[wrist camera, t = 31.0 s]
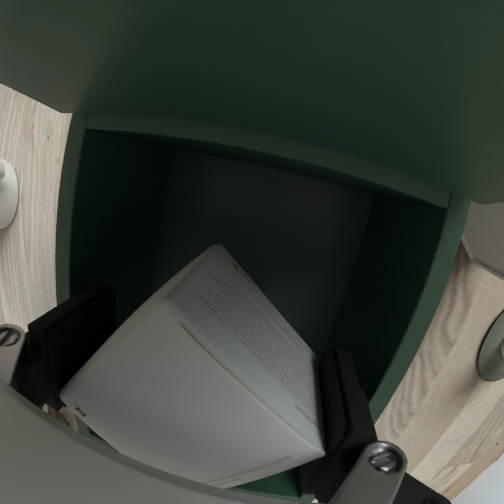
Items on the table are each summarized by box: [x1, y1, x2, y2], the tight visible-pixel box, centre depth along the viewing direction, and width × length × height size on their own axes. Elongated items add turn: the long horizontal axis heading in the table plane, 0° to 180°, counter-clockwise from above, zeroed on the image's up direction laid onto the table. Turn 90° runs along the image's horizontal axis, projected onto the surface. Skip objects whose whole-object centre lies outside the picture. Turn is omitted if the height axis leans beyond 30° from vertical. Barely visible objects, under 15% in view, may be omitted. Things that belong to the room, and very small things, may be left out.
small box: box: [59, 244, 326, 489], centre depth 8 cm, size 6×6×5 cm
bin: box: [55, 113, 471, 503], centre depth 13 cm, size 16×13×9 cm
